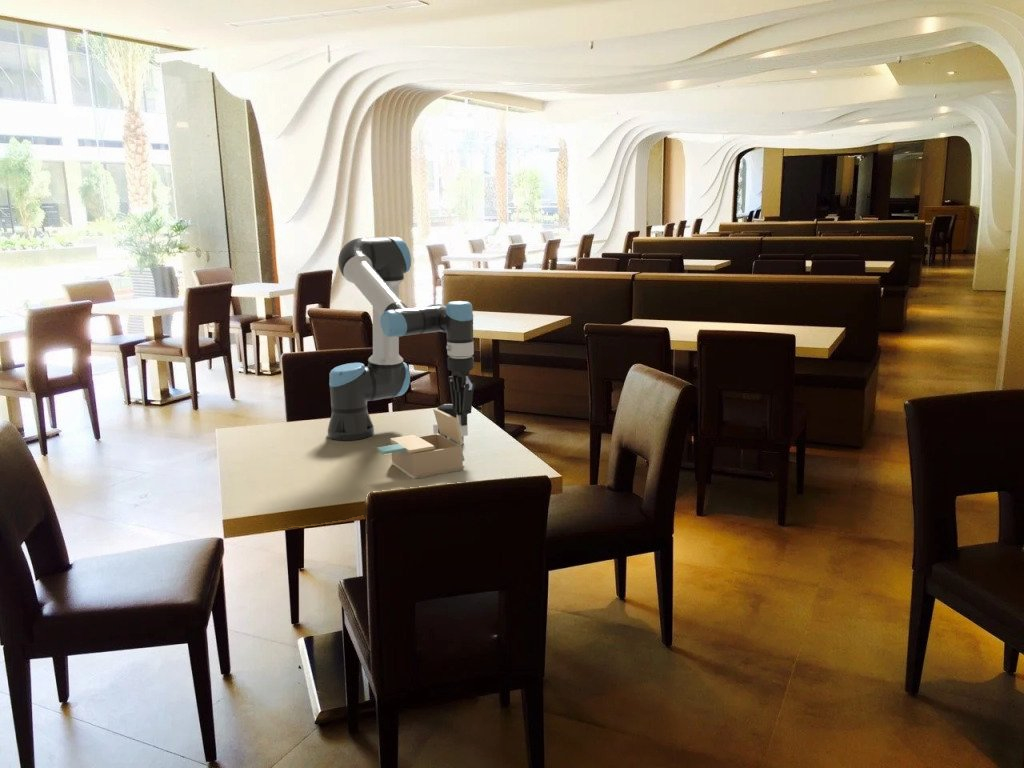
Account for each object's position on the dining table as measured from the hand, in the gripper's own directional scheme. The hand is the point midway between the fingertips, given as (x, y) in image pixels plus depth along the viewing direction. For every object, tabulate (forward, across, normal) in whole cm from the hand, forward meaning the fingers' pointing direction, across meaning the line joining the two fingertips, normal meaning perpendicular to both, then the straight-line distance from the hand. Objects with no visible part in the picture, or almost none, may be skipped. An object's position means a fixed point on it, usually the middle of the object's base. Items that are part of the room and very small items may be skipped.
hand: (462, 435), depth 239 cm
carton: (+8, -1, -11) cm, 14 cm away
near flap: (0, -2, -19) cm, 19 cm away
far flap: (0, -2, -3) cm, 3 cm away
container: (+9, -18, +4) cm, 20 cm away
